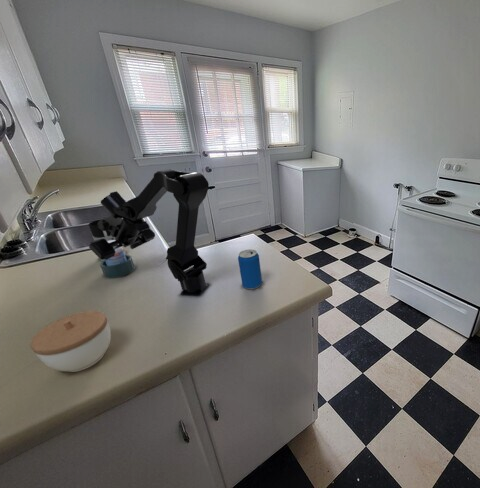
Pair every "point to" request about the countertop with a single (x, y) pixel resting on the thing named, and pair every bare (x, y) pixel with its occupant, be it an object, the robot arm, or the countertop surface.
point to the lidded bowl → (73, 341)
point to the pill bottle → (116, 256)
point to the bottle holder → (118, 268)
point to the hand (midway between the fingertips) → (118, 253)
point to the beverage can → (250, 269)
